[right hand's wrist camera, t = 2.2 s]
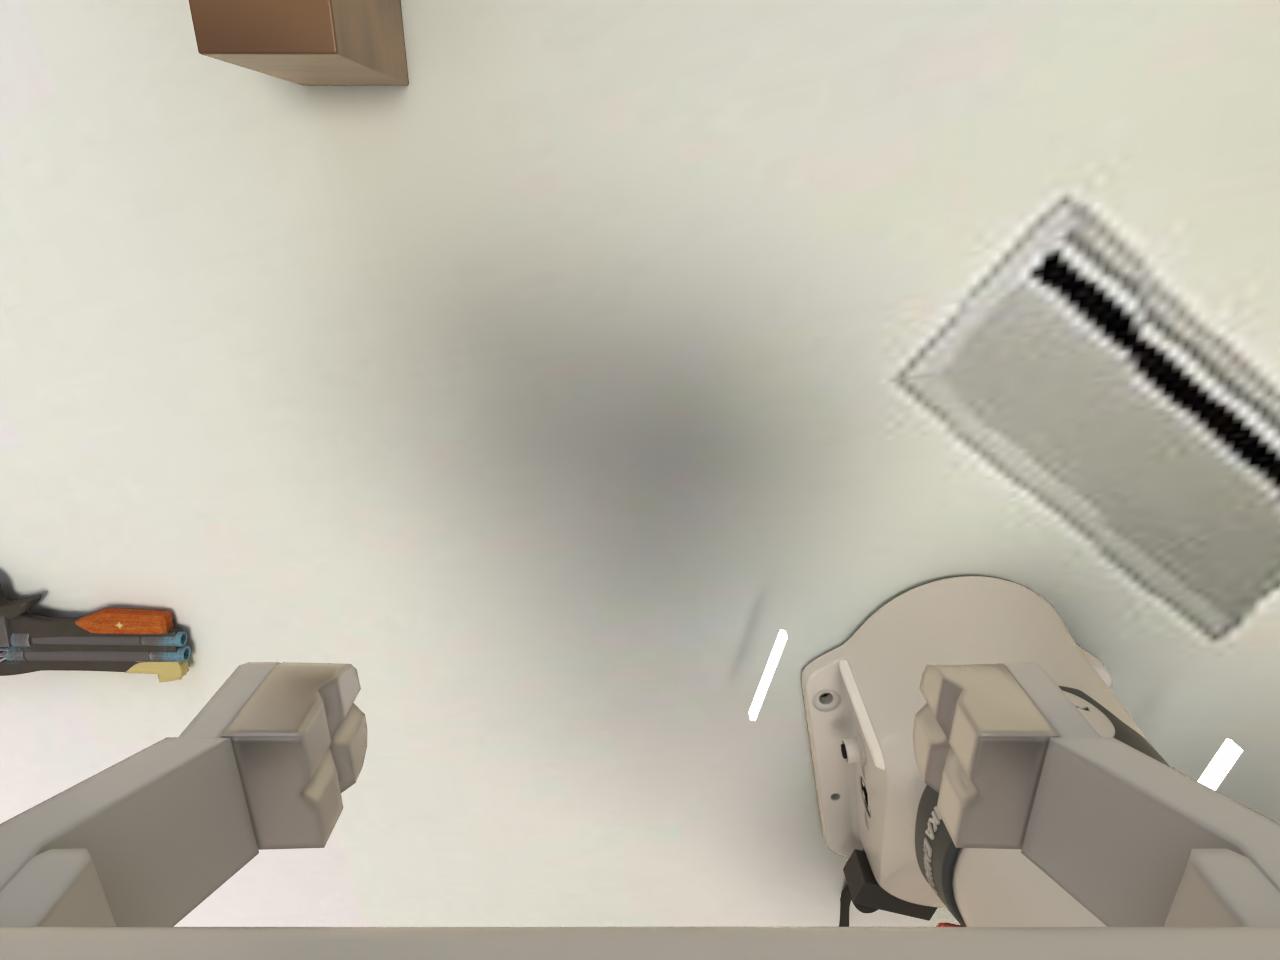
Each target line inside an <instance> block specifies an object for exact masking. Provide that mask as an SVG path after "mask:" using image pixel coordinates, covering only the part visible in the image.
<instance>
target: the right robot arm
mask: <svg viewBox="0 0 1280 960" xmlns="http://www.w3.org/2000/svg"><path fill="white" fill-rule="evenodd" d="M787 638H788V637H787V634H786V631H785V630H781V629H780V631H779V634H778V637H777V639H776V642H775V644H774V647H773V650H772V652H771V655H770V657H769V660H768V663H767V665H766V668H765V671H764V673H763V676H762V678H761V681H760V684H759V686H758V689H757V692H756V694H755V697H754V699H753V702H752V705H751V707H750V710H749V716H750V720H753V721H755V720H756V718H757V715H758V713H759V710H760V707H761V705H762V702H763V700H764V697H765V695H766V692H767V689H768V687H769V684H770V682H771V679H772V676H773V674H774V671H775V669H776V666H777V664H778V661H779V658H780V656H781V653H782V651H783V648H784V645H785V643H786V640H787ZM801 681H802V689H803V696H804V703H805V710H806V718H807V725H808V732H809V739H810V747H811V754H812V761H813V768H814V775H815V783H816V790H817V797H818V804H819V812H820V819H821V825H822V832H823V835H824V838H825V841H826V843H827V845H828V847H829V848H830V849H831V850H832V851H834V852H835V853H837V854H839V855H841V856H843V857H846V858H848V859H849V860H848V862H847V863H846V865H845V867H844V869H843V870H844V874H845V877H846V880H847V884H848V887H847V888H846V889H845V890H844V891H843V892H842V896H841V908H840V925H839V927H173V926H174V925H176V924H177V923H178V922H179V921H180V920H181V919H183V918H184V917H185V916H186V915H187V914H188V913H190V912H191V911H192V910H193V909H194V908H195V907H197V906H198V905H199V904H200V903H201V902H202V901H204V900H205V899H206V898H207V897H208V896H209V895H211V894H212V893H213V892H214V891H215V890H216V889H218V888H219V887H220V886H221V885H222V884H223V883H225V882H226V881H227V880H228V879H229V878H230V877H232V876H233V875H234V874H235V873H236V872H237V871H239V870H240V869H241V868H242V867H243V866H244V865H246V864H247V863H248V862H249V861H250V860H251V859H253V858H254V857H255V856H256V855H257V854H258V853H259V849H293V848H324V847H325V845H326V843H327V841H328V839H329V836H330V834H331V832H332V830H333V828H334V826H335V824H336V822H337V820H338V818H339V816H340V814H341V812H342V810H343V803H342V797H341V793H342V792H343V791H345V790H346V789H347V788H349V787H350V786H352V785H353V784H354V783H355V782H356V780H357V778H358V776H359V774H360V771H361V769H362V767H363V763H364V758H365V753H366V748H367V724H366V718H365V714H364V713H363V712H362V711H361V710H360V709H359V708H358V707H357V706H356V705H355V704H354V703H353V702H354V700H355V698H356V697H357V695H358V693H359V691H360V689H361V688H360V683H359V678H358V673H357V669H356V668H355V667H353V666H352V665H351V664H331V663H285V662H283V663H278V662H248V663H245V664H242V665H240V666H238V667H237V669H236V670H235V671H234V672H233V673H232V674H231V676H230V677H229V678H228V679H227V680H226V682H225V683H224V684H223V685H222V686H221V687H220V689H219V690H218V691H217V692H216V693H215V695H214V696H213V697H212V698H211V699H210V700H209V702H208V703H207V704H206V705H205V706H204V708H203V709H202V710H201V711H200V712H199V713H198V715H197V716H196V717H195V718H194V719H193V721H192V722H191V723H190V724H189V725H188V726H187V728H186V729H185V730H184V731H183V732H182V733H181V735H180V736H179V737H178V738H165V739H163V740H161V741H159V742H157V743H155V744H153V745H152V746H150V747H148V748H146V749H144V750H142V751H140V752H138V753H136V754H134V755H132V756H130V757H128V758H127V759H125V760H123V761H121V762H119V763H117V764H115V765H113V766H111V767H109V768H107V769H105V770H103V771H102V772H100V773H98V774H96V775H94V776H92V777H90V778H88V779H86V780H84V781H82V782H80V783H78V784H77V785H75V786H73V787H71V788H69V789H67V790H65V791H63V792H61V793H59V794H57V795H55V796H53V797H52V798H50V799H48V800H46V801H44V802H42V803H40V804H38V805H36V806H34V807H32V808H30V809H28V810H27V811H25V812H23V813H21V814H19V815H17V816H15V817H13V818H11V819H9V820H7V821H5V822H3V823H2V824H0V960H1280V824H1278V823H1276V822H1274V821H1272V820H1270V819H1268V818H1267V817H1265V816H1263V815H1261V814H1259V813H1257V812H1255V811H1253V810H1251V809H1249V808H1247V807H1245V806H1243V805H1242V804H1240V803H1238V802H1236V801H1234V800H1232V799H1230V798H1228V797H1226V796H1224V795H1222V794H1220V793H1219V792H1217V791H1215V790H1216V789H1217V788H1218V786H1219V785H1220V783H1221V782H1222V780H1223V779H1224V778H1225V776H1226V775H1227V773H1228V772H1229V770H1230V769H1231V767H1232V766H1233V765H1234V763H1235V762H1236V760H1237V759H1238V757H1239V756H1240V755H1241V753H1242V752H1243V750H1242V749H1241V748H1240V747H1239V746H1238V745H1237V744H1235V743H1234V742H1233V741H1232V740H1231V739H1226V740H1225V742H1224V743H1223V745H1222V746H1221V747H1220V749H1219V750H1218V752H1217V753H1216V755H1215V756H1214V758H1213V759H1212V761H1211V762H1210V764H1209V765H1208V767H1207V768H1206V770H1205V771H1204V772H1203V774H1202V775H1201V777H1200V778H1199V780H1198V781H1196V780H1194V779H1192V778H1190V777H1188V776H1186V775H1184V774H1182V773H1180V772H1178V771H1176V770H1175V768H1174V767H1170V766H1169V765H1168V764H1167V762H1166V761H1165V760H1164V759H1163V758H1162V757H1161V756H1160V755H1159V754H1158V752H1157V751H1156V750H1155V749H1154V748H1153V747H1152V745H1151V744H1150V743H1149V741H1148V740H1147V738H1146V737H1145V736H1144V734H1143V733H1142V732H1141V730H1140V729H1139V727H1138V726H1137V725H1136V723H1135V722H1134V721H1133V719H1132V718H1131V716H1130V715H1129V714H1128V712H1127V711H1126V710H1125V708H1124V707H1123V706H1122V704H1121V703H1120V702H1119V700H1118V699H1117V697H1116V696H1115V695H1114V693H1113V692H1112V691H1111V686H1112V677H1111V675H1110V673H1109V672H1108V671H1107V669H1106V668H1105V667H1104V665H1103V664H1102V663H1101V662H1100V661H1099V660H1098V659H1097V658H1096V657H1094V656H1093V655H1092V654H1090V653H1089V652H1087V651H1086V650H1084V649H1082V648H1081V647H1079V646H1077V645H1076V643H1075V642H1074V640H1073V638H1072V637H1071V635H1070V633H1069V631H1068V630H1067V628H1066V626H1065V624H1064V622H1063V621H1062V619H1061V618H1060V616H1059V614H1058V613H1057V612H1056V611H1055V609H1054V608H1053V607H1052V606H1051V605H1050V604H1049V603H1048V602H1047V601H1046V600H1045V599H1043V598H1042V597H1041V596H1039V595H1038V594H1037V593H1035V592H1033V591H1032V590H1030V589H1028V588H1026V587H1024V586H1022V585H1019V584H1017V583H1014V582H1011V581H1008V580H1003V579H999V578H993V577H985V576H961V577H952V578H946V579H941V580H937V581H933V582H930V583H927V584H924V585H921V586H918V587H916V588H913V589H911V590H909V591H907V592H905V593H903V594H901V595H899V596H897V597H896V598H894V599H892V600H891V601H889V602H888V603H886V604H885V605H884V606H882V607H881V608H880V609H878V610H877V611H876V612H875V613H874V614H872V615H871V616H870V617H869V618H868V619H867V620H866V621H865V622H864V623H863V625H862V626H861V627H860V628H859V629H858V630H857V631H856V632H855V633H854V634H853V636H852V637H851V638H850V639H848V640H847V641H846V642H845V643H844V644H843V645H841V646H839V647H837V648H835V649H833V650H831V651H829V652H827V653H825V654H823V655H822V656H820V657H818V658H816V659H815V660H813V661H812V662H811V663H809V664H808V665H807V666H806V667H805V668H804V670H803V672H802V676H801ZM823 693H829V695H827V696H825V697H820V695H822V694H823ZM851 900H852V902H853V904H854V905H855V907H856V908H857V909H858V910H859V911H861V912H862V913H872V912H875V911H877V910H878V909H881V910H885V911H890V912H894V913H898V914H903V915H907V916H911V917H916V918H920V919H924V920H930V919H931V917H932V915H933V914H934V912H935V911H936V909H937V908H938V907H940V908H947V909H948V910H949V911H950V912H951V913H952V915H953V916H954V917H955V918H956V919H957V921H958V922H959V923H960V924H961V925H955V924H951V923H938V924H937V927H849V906H850V902H851Z"/></svg>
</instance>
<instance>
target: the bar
mask: <svg viewBox="0 0 1280 960" xmlns="http://www.w3.org/2000/svg"><path fill="white" fill-rule="evenodd" d="M189 4H190V9H191V14H192V20H193V25H194V30H195V35H196V41H197V46H198V51H199V53H200V54H202V55H205V56H209V57H212V58H215V59H219V60H222V61H225V62H228V63H232V64H235V65H238V66H242V67H245V68H248V69H252V70H255V71H258V72H261V73H265V74H268V75H271V76H275V77H278V78H281V79H285V80H288V81H291V82H294V83H298V84H301V85H408V74H407V65H406V55H405V45H404V35H403V25H402V15H401V5H400V0H189Z"/></svg>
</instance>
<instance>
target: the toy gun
mask: <svg viewBox="0 0 1280 960" xmlns="http://www.w3.org/2000/svg"><path fill="white" fill-rule="evenodd" d="M41 597H42V595H36V596H33V597H30V598H25V599H19V600H11V601H7V600H6V599H5V598H4V596H3V592H2V587H1V584H0V653H2V652H3V651H7V654H6V657H1V658H0V676H4V675H16V674H23V673H29V672H35V671H40V670H83V671H114V672H125V673H149V674H158V677H159V682H165V681H172V680H180V679H182V677H183V676H184V675H186V673H187V672H188V671H189V666H188V660H189V658H190V655H191V649H190V647H189V646H184V645H185V644H186V642H187V638H188V637H187V633H186V632H182V631H180V629H176V628H173V621H172V615H171V614H170V612H169V611H160V610H142V609H119V608H106V609H102V610H100V611H97V612H94V613H92V614H89V615H86V616H84V617H81V618H53V617H46V616H40V615H36V614H32V613H30V612H27V611H28V610H30V609H32V608H33V607H34V606H35V605H36V604H37V603H38V601H39V600H40V598H41ZM9 647H10V648H9Z"/></svg>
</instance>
